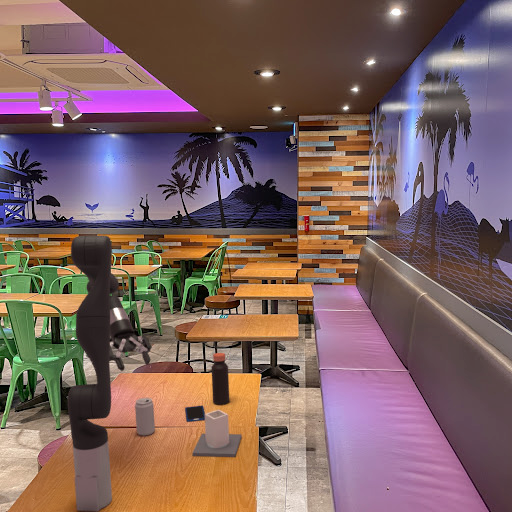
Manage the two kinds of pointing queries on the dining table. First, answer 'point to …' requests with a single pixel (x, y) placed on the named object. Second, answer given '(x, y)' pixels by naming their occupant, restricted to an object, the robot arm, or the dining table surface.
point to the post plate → (222, 451)
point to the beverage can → (144, 416)
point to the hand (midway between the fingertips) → (135, 366)
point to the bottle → (220, 380)
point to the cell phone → (195, 413)
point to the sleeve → (217, 428)
